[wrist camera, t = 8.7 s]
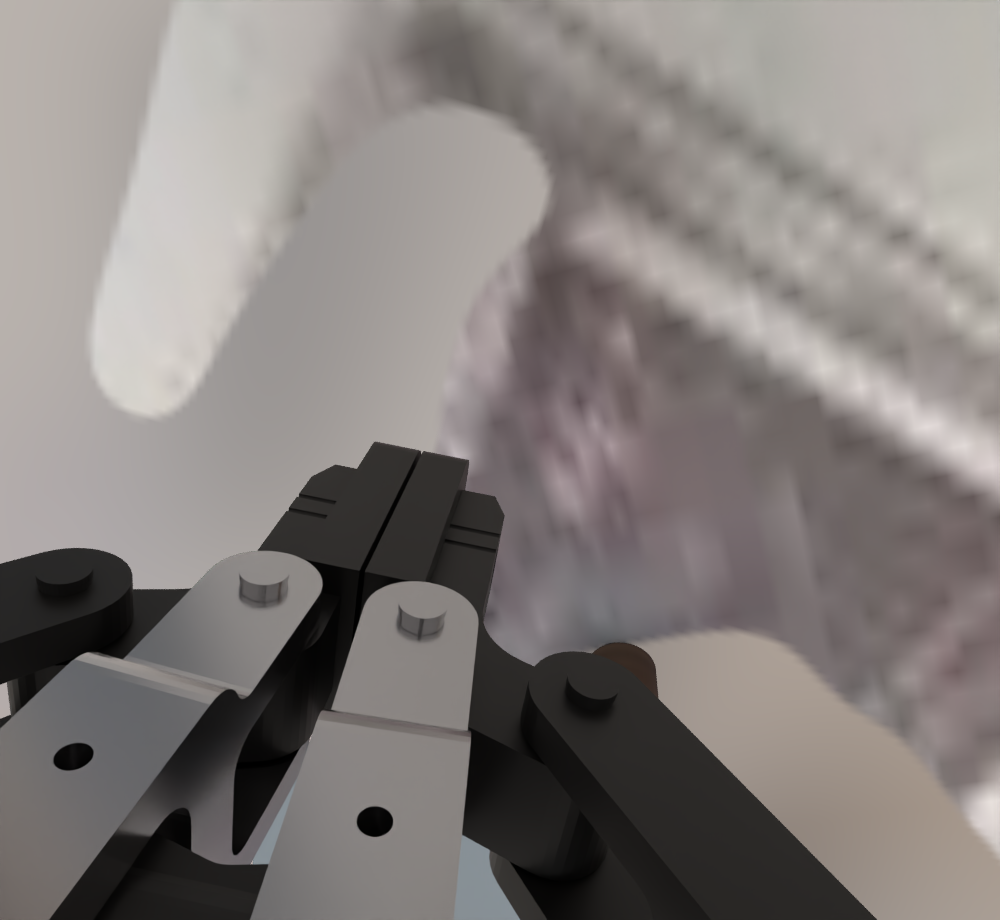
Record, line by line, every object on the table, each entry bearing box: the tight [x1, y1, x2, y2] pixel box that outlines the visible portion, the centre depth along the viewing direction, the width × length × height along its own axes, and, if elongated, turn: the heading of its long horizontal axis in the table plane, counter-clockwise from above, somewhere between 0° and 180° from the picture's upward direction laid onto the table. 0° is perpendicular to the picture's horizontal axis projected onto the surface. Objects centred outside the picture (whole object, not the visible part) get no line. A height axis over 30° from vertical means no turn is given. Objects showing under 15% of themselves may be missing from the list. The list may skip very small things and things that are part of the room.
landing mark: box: [253, 779, 520, 920], centre depth 37 cm, size 14×14×1 cm
